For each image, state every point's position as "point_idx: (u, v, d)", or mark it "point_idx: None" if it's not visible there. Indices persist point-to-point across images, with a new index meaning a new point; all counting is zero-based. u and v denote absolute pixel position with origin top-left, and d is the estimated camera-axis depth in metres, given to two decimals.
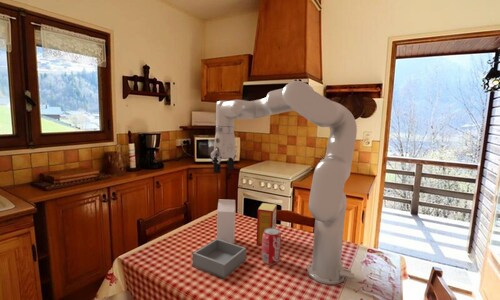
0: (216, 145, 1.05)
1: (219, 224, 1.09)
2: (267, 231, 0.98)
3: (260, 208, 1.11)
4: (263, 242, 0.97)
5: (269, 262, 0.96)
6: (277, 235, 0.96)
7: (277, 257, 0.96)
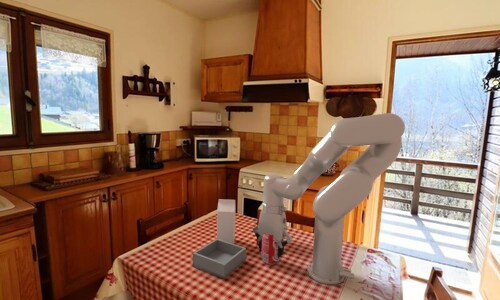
0: (284, 227, 0.94)
1: (219, 224, 1.09)
2: None
3: (260, 208, 1.11)
4: (263, 242, 0.97)
5: (269, 262, 0.96)
6: None
7: (277, 257, 0.96)
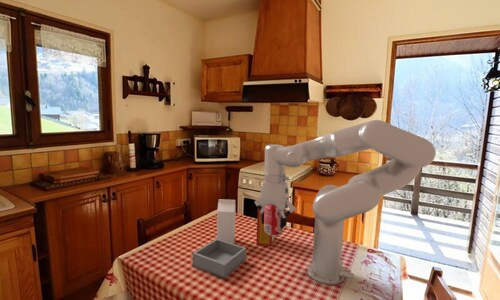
0: (286, 197, 0.93)
1: (219, 224, 1.09)
2: None
3: None
4: (265, 213, 0.95)
5: (272, 233, 0.94)
6: None
7: (280, 228, 0.95)
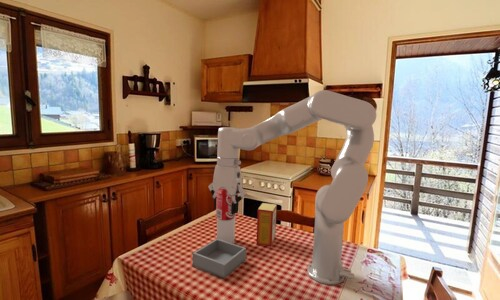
0: (238, 182, 0.90)
1: (219, 224, 1.09)
2: None
3: (260, 208, 1.11)
4: (217, 198, 0.92)
5: (222, 218, 0.91)
6: None
7: (231, 213, 0.92)
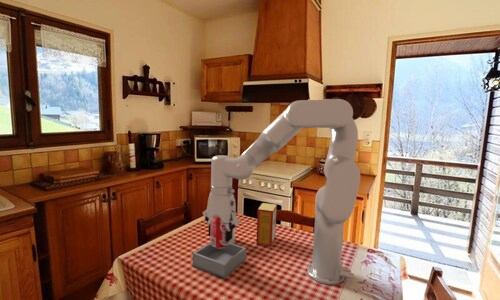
0: (232, 210, 0.91)
1: None
2: None
3: (260, 208, 1.11)
4: (211, 225, 0.93)
5: (216, 246, 0.92)
6: None
7: (225, 241, 0.92)
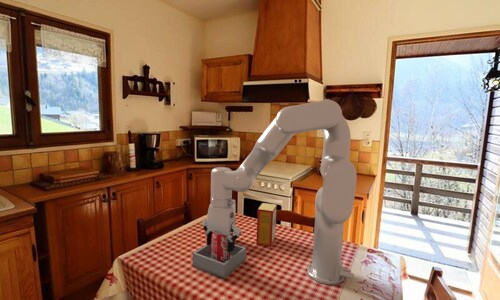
0: (231, 221, 0.91)
1: None
2: None
3: (260, 208, 1.11)
4: (212, 242, 0.94)
5: None
6: None
7: (226, 257, 0.93)
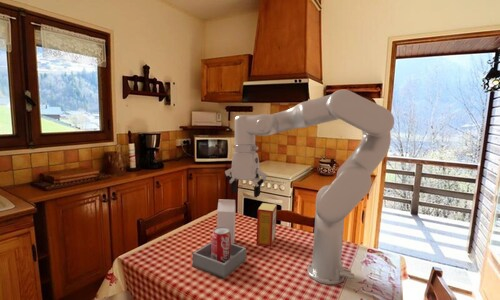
0: (256, 166, 0.93)
1: (219, 224, 1.09)
2: (216, 230, 0.95)
3: (260, 208, 1.11)
4: (212, 242, 0.94)
5: None
6: (226, 235, 0.93)
7: (226, 257, 0.93)
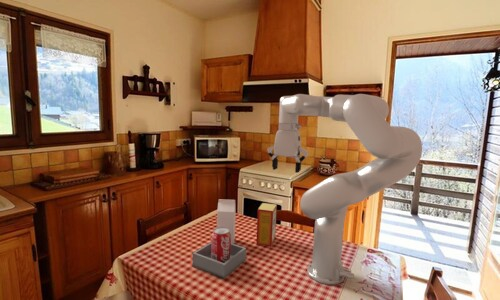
0: (298, 143, 1.01)
1: (219, 224, 1.09)
2: (216, 230, 0.95)
3: (260, 208, 1.11)
4: (212, 242, 0.94)
5: None
6: (226, 235, 0.93)
7: (226, 257, 0.93)
